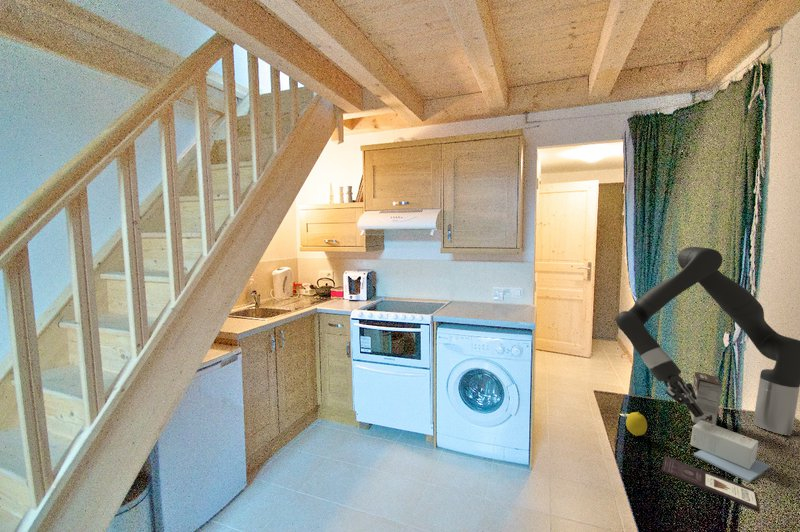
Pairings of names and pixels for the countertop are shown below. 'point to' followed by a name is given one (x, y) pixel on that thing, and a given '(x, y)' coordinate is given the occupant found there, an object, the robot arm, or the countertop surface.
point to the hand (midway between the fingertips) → (700, 416)
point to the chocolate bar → (710, 482)
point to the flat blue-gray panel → (734, 466)
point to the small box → (724, 444)
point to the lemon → (636, 423)
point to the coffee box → (707, 397)
